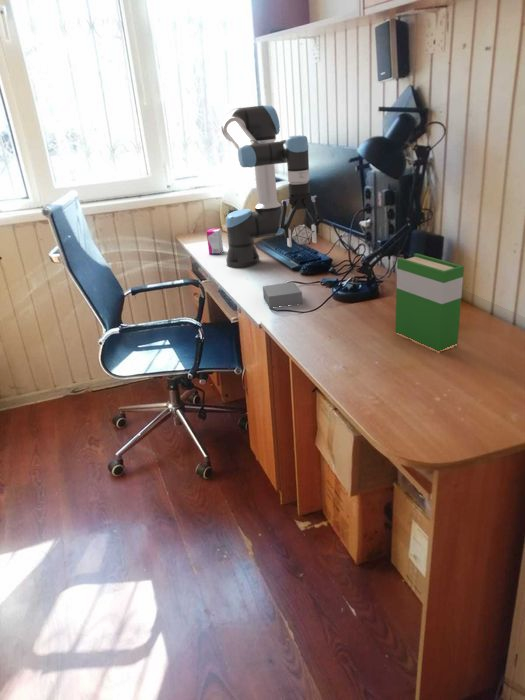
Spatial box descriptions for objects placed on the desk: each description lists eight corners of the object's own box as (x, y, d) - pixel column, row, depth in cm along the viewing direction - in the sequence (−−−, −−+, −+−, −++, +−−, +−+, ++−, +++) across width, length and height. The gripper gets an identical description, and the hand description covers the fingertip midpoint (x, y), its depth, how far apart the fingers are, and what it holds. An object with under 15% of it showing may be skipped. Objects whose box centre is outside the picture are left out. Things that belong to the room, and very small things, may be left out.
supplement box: (223, 251, 270) (221, 228, 265) (220, 254, 265) (217, 231, 260) (212, 251, 272) (209, 228, 267) (208, 254, 267) (206, 231, 262)
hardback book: (395, 334, 168) (397, 258, 157) (413, 327, 171) (416, 253, 160) (438, 353, 154) (444, 272, 143) (457, 346, 157) (464, 266, 146)
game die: (307, 255, 204) (315, 237, 196) (285, 249, 203) (293, 230, 195) (310, 238, 209) (318, 220, 201) (288, 232, 208) (296, 213, 200)
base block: (263, 298, 206) (262, 286, 204) (294, 294, 207) (293, 281, 205) (269, 309, 195) (268, 296, 193) (302, 305, 197) (301, 292, 195)
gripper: (272, 187, 188) (277, 251, 198) (331, 179, 193) (333, 242, 203) (266, 184, 195) (271, 246, 204) (323, 177, 199) (325, 237, 209)
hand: (302, 244), depth 204 cm, fingers closed on game die, 9 cm apart
